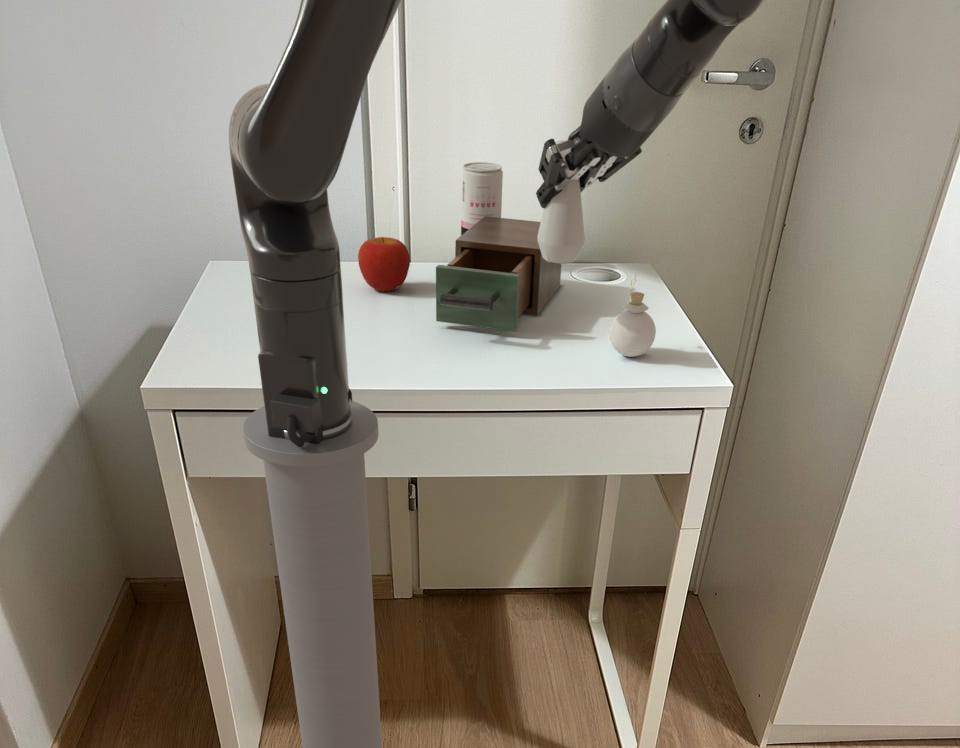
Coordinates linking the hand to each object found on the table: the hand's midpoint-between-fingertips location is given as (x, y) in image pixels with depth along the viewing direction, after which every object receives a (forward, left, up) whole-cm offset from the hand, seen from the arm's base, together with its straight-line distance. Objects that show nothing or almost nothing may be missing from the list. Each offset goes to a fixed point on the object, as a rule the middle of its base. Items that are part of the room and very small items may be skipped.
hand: (552, 199), depth 111 cm
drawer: (+8, +11, -18) cm, 22 cm away
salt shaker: (-1, -2, -7) cm, 7 cm away
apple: (+17, +30, -19) cm, 39 cm away
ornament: (+4, -11, -19) cm, 22 cm away
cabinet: (+21, +11, -19) cm, 31 cm away
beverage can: (+35, +20, -19) cm, 45 cm away
